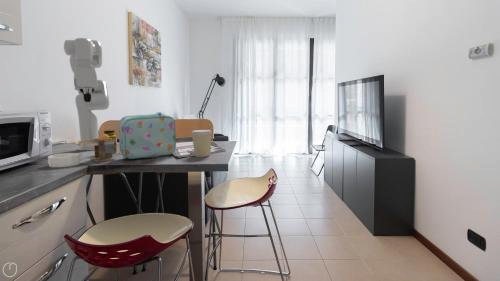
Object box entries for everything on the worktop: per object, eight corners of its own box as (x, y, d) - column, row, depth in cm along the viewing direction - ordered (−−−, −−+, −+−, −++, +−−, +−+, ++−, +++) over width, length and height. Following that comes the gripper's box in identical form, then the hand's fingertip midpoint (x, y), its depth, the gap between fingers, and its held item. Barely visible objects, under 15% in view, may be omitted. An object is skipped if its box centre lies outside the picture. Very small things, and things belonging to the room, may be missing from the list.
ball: (100, 141, 170) (100, 134, 169) (108, 140, 172) (107, 133, 171) (102, 142, 167) (102, 134, 166) (110, 141, 169) (110, 134, 169)
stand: (91, 159, 171) (89, 139, 170) (107, 157, 176) (106, 137, 175) (98, 162, 163) (96, 140, 161) (115, 160, 167) (113, 139, 166)
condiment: (120, 152, 190) (118, 130, 188) (103, 155, 184) (102, 131, 182) (114, 151, 195) (112, 129, 193) (98, 153, 189) (96, 130, 188)
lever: (72, 152, 174) (71, 139, 173) (103, 149, 183) (102, 136, 182) (81, 156, 160) (80, 142, 160) (114, 152, 170) (113, 138, 169)
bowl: (46, 164, 160) (45, 155, 160) (76, 160, 168) (76, 152, 167) (52, 168, 151) (51, 158, 150) (83, 164, 158) (83, 155, 158)
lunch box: (171, 152, 187) (168, 111, 184) (179, 154, 179) (177, 111, 176) (118, 158, 172) (115, 113, 169) (125, 161, 163) (122, 114, 161)
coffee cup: (213, 153, 179) (212, 129, 178) (210, 156, 170) (209, 131, 169) (195, 153, 180) (194, 129, 179) (190, 157, 171) (189, 131, 169)
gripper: (98, 65, 184) (101, 101, 186) (66, 64, 175) (69, 102, 177) (102, 64, 178) (105, 101, 180) (69, 63, 169) (73, 102, 171)
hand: (87, 102), depth 179 cm, fingers closed
